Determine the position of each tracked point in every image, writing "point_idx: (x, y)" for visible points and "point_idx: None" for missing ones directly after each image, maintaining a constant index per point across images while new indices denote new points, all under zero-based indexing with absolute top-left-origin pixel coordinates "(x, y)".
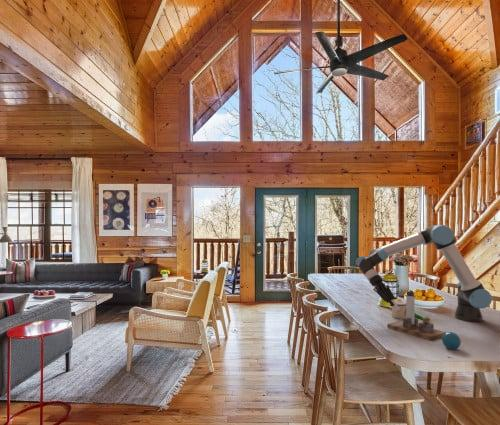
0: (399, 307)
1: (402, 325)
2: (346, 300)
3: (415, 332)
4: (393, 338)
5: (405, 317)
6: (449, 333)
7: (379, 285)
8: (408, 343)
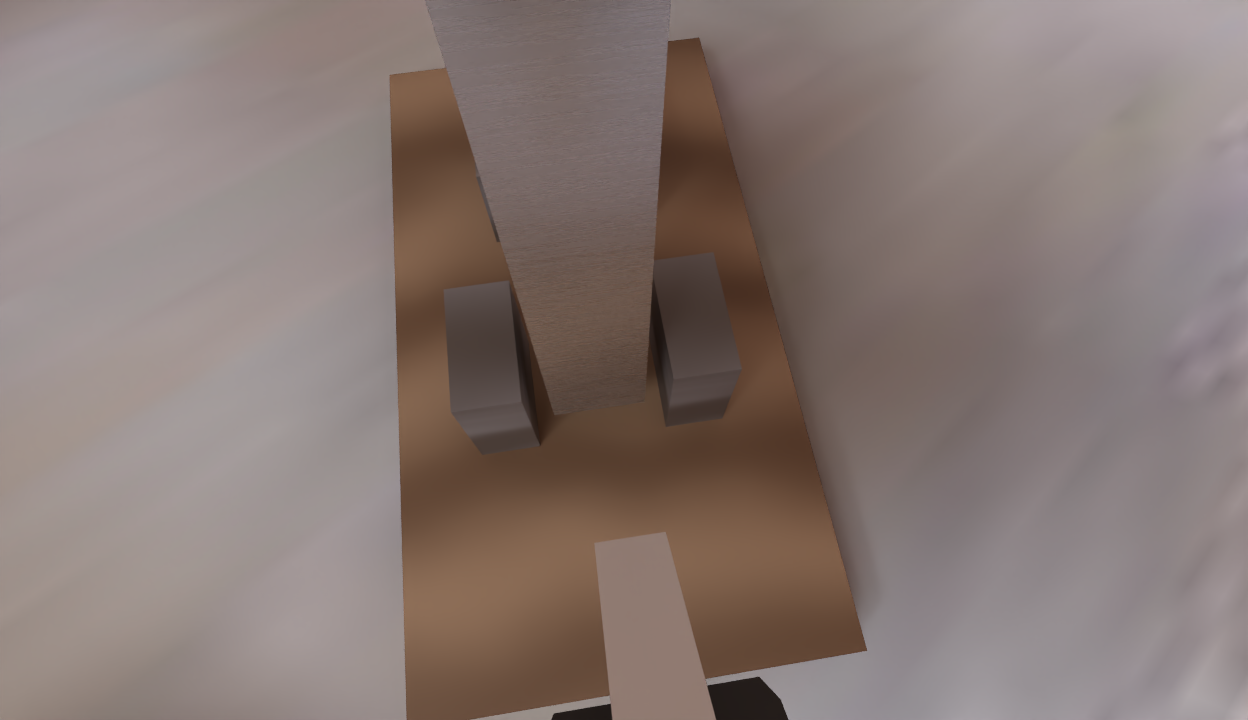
0: None
1: (670, 474)
2: None
3: (740, 198)
4: (1075, 253)
5: None
6: None
7: None
8: (1005, 98)
